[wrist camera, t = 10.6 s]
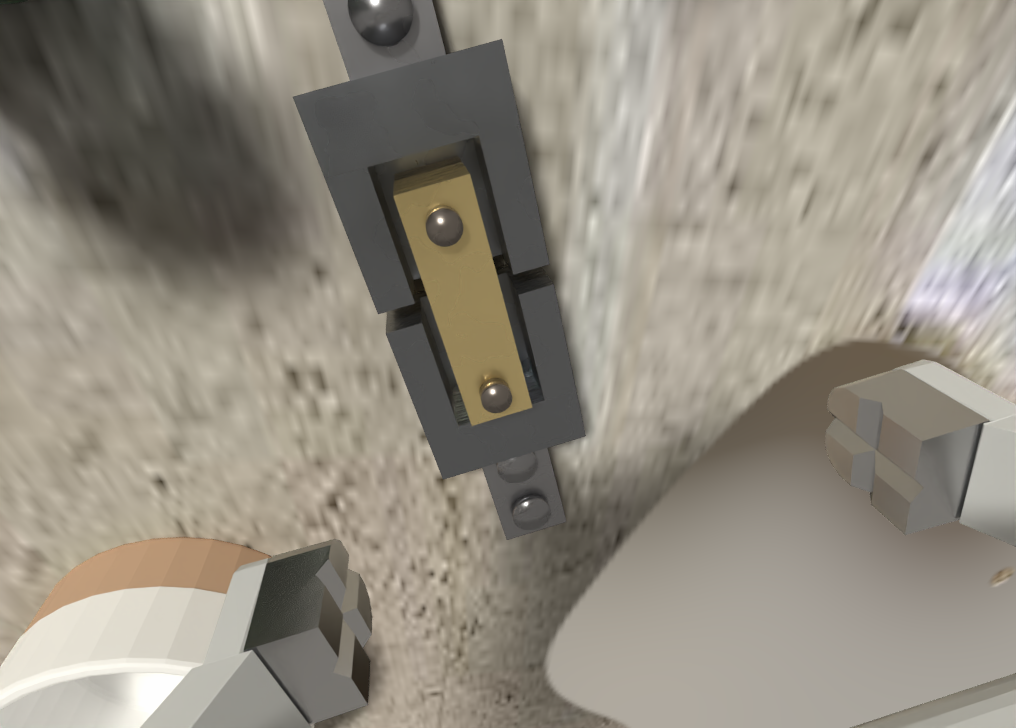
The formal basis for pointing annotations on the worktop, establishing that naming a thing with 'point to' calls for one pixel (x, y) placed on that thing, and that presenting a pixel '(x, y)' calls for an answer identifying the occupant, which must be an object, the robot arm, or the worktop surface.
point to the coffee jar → (11, 1)
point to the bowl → (119, 634)
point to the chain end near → (417, 137)
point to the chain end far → (509, 439)
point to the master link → (462, 286)
